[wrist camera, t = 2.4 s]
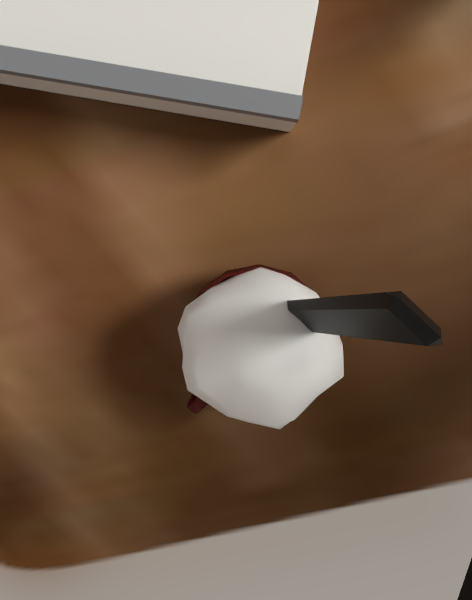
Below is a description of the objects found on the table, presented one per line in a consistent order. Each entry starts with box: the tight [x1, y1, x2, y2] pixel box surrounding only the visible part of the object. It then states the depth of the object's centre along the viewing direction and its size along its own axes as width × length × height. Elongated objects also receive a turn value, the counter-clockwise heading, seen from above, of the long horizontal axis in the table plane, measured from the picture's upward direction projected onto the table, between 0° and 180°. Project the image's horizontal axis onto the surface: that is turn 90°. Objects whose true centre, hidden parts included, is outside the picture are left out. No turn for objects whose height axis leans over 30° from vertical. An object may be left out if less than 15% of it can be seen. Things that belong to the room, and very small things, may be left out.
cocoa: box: [177, 265, 442, 429], centre depth 16 cm, size 10×6×12 cm, turn 117°
